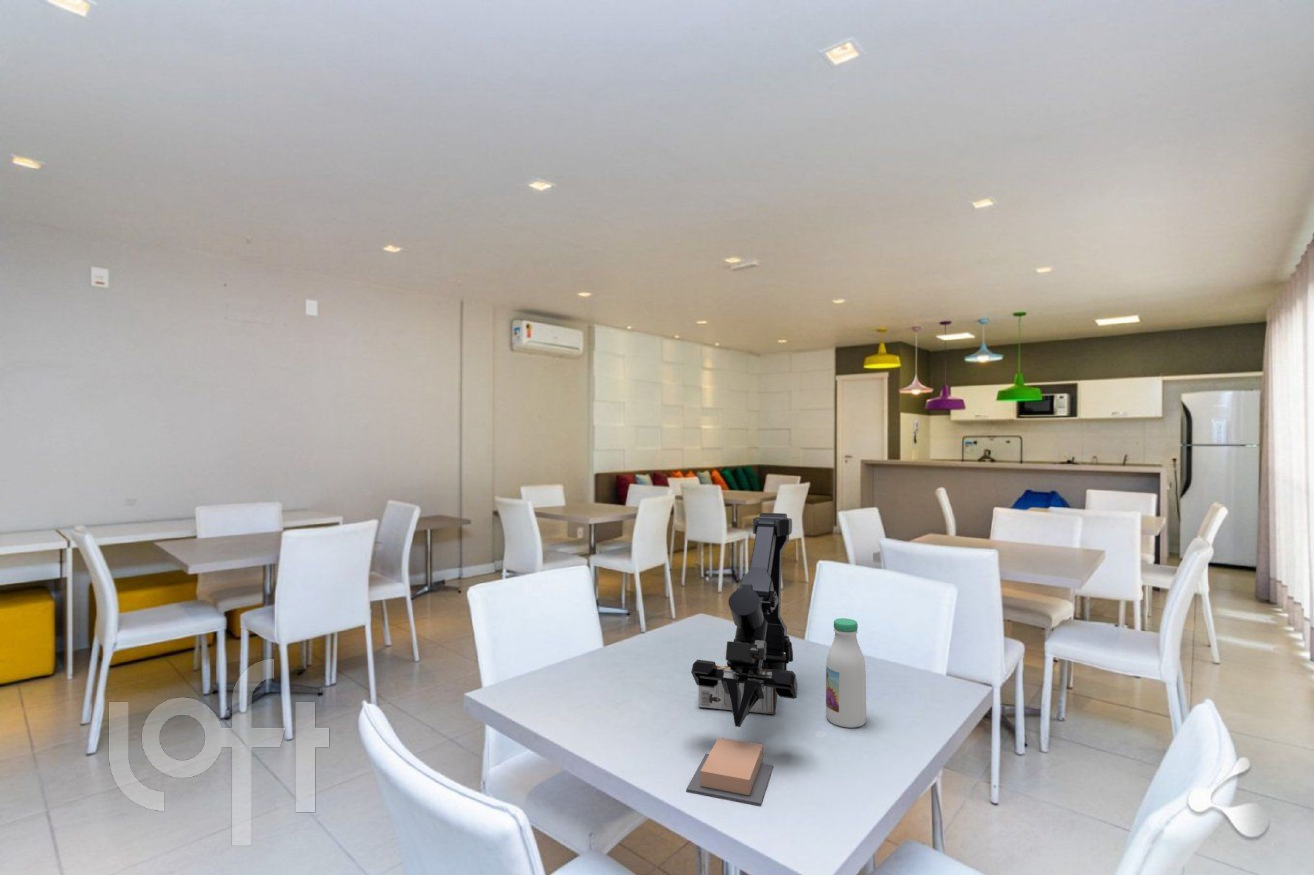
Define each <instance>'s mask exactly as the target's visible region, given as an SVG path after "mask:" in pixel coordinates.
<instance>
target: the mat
mask: <svg viewBox="0 0 1314 875" xmlns="http://www.w3.org/2000/svg"><path fill="white" fill-rule="evenodd" d="M709 754H710V753H705V754H704V756H703V758H702V759H701V761H700V763H699V765H698V767H697V769H696V771H695V772H694V773H693V776H692V778H691V780H690V781H689V783H688V785H687V786H686V789H685V790H686V792H688V793H693V794H696V795H697V794H698V795H703V796H708V797H713V798H718V799H722V800H729V801H733V802H734V801H735V802H739V803H744V804H749V805H754V806H759V807H760V806H762V804H763V801H764V797H765V794H766V791H767V787H768V784H769V782H770V779H771V775H772V773H773V769H774V765H773V764H770V763H763V762H761V765H760V768H759V770H758V773H757V776H756V779H755V781H754V784H753V787H752V790H751V792H750V795H749V796H748V795H743V794H738V793H733V792H728V791H722V790H717V789H712V788H707V787H702V786H700V771H701V769H702V767H703V765H704V763H705V761H706V760H707V758H708V756H709Z"/></svg>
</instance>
